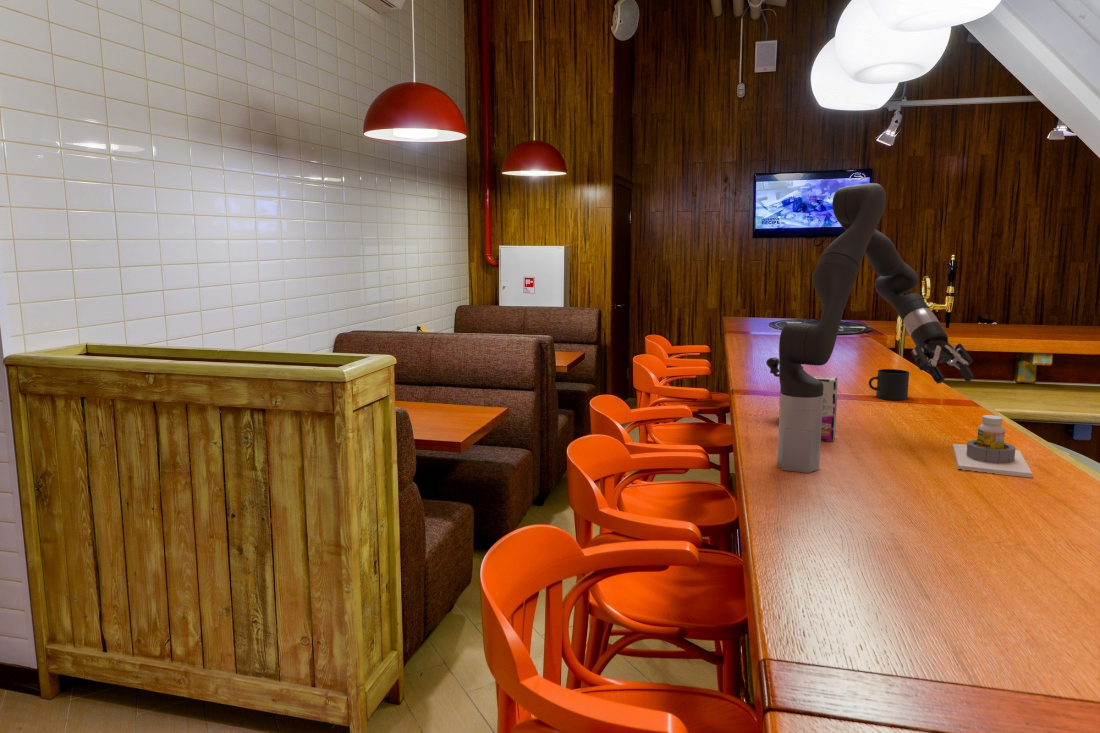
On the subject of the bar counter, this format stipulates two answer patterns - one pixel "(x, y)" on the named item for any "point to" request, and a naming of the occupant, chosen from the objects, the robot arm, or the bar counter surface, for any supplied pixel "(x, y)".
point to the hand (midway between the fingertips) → (955, 380)
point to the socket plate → (991, 459)
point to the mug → (891, 384)
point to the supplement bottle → (991, 432)
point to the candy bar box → (828, 407)
